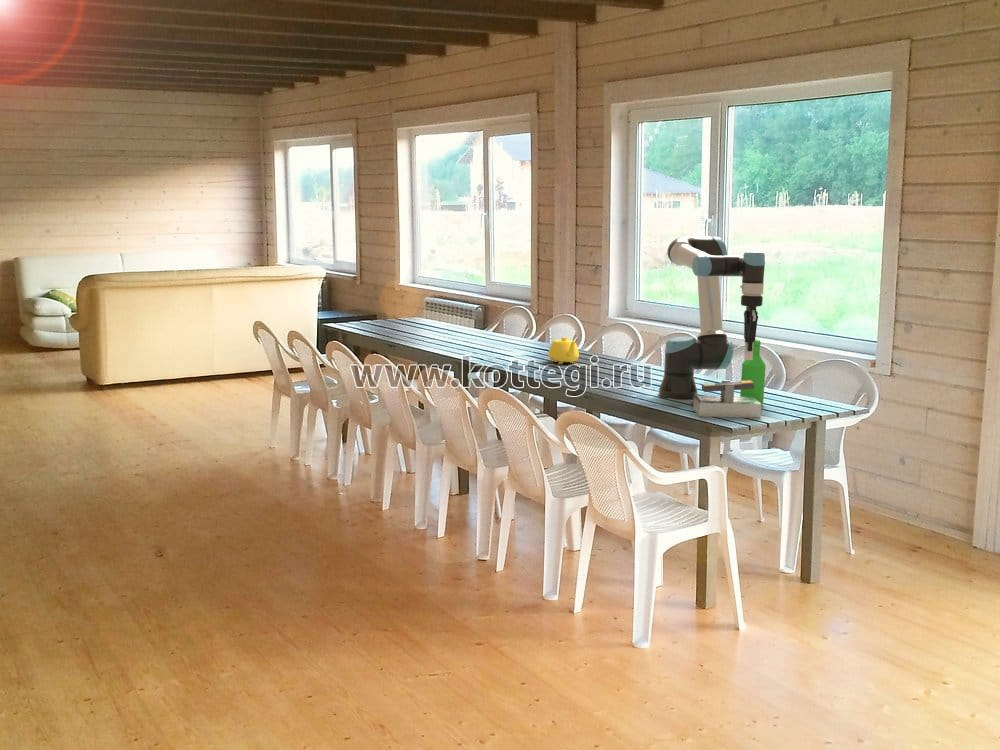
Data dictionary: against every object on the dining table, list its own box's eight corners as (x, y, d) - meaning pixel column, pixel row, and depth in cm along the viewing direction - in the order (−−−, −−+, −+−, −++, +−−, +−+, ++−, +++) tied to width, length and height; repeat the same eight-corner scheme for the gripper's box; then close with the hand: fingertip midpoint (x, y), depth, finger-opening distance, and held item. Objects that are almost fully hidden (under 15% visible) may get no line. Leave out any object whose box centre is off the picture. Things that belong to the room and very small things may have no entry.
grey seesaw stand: (693, 408, 378) (694, 378, 376) (752, 410, 378) (754, 380, 376) (699, 416, 364) (700, 385, 362) (760, 417, 364) (762, 386, 362)
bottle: (736, 402, 392) (740, 338, 388) (758, 402, 393) (762, 338, 389) (743, 406, 384) (747, 341, 380) (766, 406, 384) (770, 341, 380)
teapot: (562, 367, 470) (562, 340, 468) (541, 361, 488) (542, 335, 486) (587, 365, 476) (587, 339, 474) (566, 359, 494) (566, 334, 492)
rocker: (701, 389, 373) (701, 383, 372) (751, 386, 372) (750, 380, 371) (704, 392, 367) (704, 385, 367) (754, 388, 366) (754, 382, 366)
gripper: (737, 293, 370) (734, 357, 374) (745, 296, 357) (741, 362, 361) (758, 293, 370) (755, 357, 374) (766, 296, 357) (762, 362, 361)
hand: (748, 359), depth 367 cm, fingers closed
